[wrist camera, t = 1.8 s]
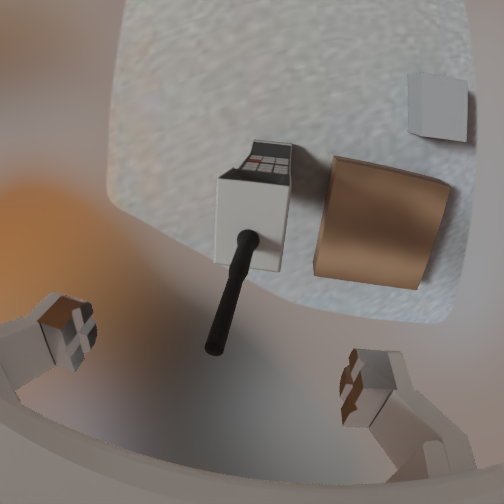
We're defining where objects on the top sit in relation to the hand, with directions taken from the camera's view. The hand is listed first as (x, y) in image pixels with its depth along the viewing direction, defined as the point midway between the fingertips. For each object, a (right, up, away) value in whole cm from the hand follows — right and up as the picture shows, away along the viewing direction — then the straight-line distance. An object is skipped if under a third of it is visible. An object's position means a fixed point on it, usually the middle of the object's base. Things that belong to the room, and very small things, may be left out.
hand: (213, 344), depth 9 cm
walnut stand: (+14, +6, +23) cm, 28 cm away
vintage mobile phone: (+3, +11, +22) cm, 25 cm away
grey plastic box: (+19, +17, +17) cm, 31 cm away
